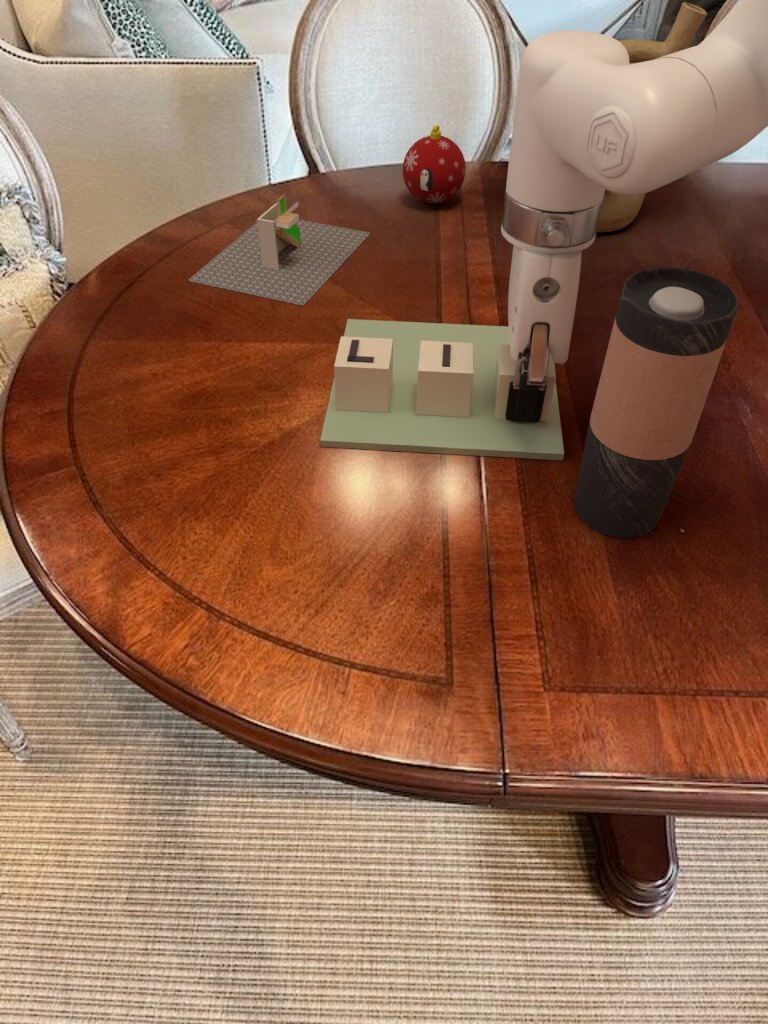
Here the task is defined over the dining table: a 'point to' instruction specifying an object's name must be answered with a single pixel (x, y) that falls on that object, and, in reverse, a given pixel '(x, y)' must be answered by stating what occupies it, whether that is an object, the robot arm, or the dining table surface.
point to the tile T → (506, 375)
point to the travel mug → (651, 396)
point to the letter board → (440, 432)
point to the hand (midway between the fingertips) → (521, 399)
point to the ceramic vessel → (626, 207)
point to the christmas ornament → (434, 168)
